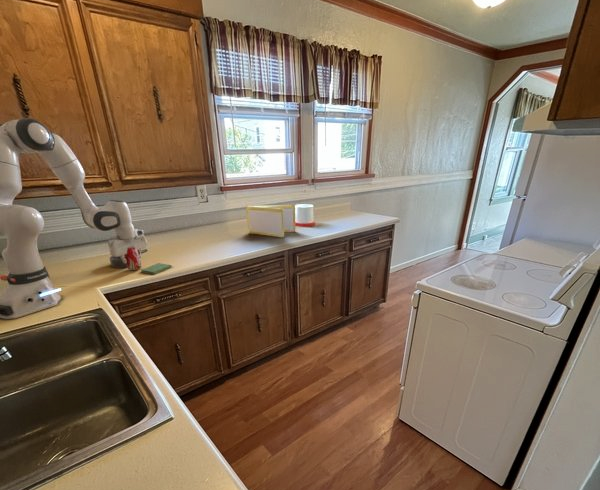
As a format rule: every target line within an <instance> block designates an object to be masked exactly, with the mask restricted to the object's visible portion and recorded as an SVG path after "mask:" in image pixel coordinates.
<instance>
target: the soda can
mask: <svg viewBox="0 0 600 490" xmlns="http://www.w3.org/2000/svg"><path fill="white" fill-rule="evenodd" d="M124 256H125V257H124V258H125V259H127V260H128V263H126V265H127V267H126V268H127V270H130V271H138V270H141V268H142V260H141V258H140V257H139V254H138V251H137V248H136V247H135V245H134V246H133V247H130V248H128V250H127V254H125V255H124Z"/></svg>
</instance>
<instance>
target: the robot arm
mask: <svg viewBox="0 0 600 490" xmlns="http://www.w3.org/2000/svg"><path fill="white" fill-rule="evenodd" d="M34 153H37V154H38V155H39V156H41V157H42V158H43V160H44V161H45V162H46V165H48V168H50V170H51V171H52V172H53V174H54V175H55V177H57V179H58V181H60V182H61V183H62V185H63V186H64V187H65V188H66V189H67V191H68V192H69V194H70V195H71V197H72V199H73V200H74V202H75V204H77V206H78V208H79V210H80V214H81V217H82V220H83V223H84V224H85V225H86V226H88V227H89V228H91V229H95V230H99V231H102V232H107V231H111V230H114V233H115V236H113V237H109V239H108V241H107V244H108V248H109V254H110V256H113V257H118V256H119V257H120V258H121V259H122V260H123V263H128V260H127V259H125V258H124V257H125V256H124V255H125V254H127V250H128V248H130V247H133V246H134V245H135V247H136V248H137V251H138V254H139V257H140V259H141V258H142V254H141V250H144V249H147V248H148V242H147V238H146V235H144V234H145V231H144V230H143V229H137V228H135V227H134V224H133V222H132V215H131V211H130V208H129V205H128V204H127V202H125V201H123V200H119V199H109V200H107V202H106V203H105V204H104V205H103V206H101V207H98V206H96V204H95V203H94V202H93V200H92V199H91V197H90V196H89V194H88V192H87V190H86V188H85V186H84V181H85V179H86V172H85V170H84V168H83V166H82V164H81V162H80V161H79V159H78V158H77V156H76V155H75V153H74V152H73V150H72V149H71V148H70V146H69V145H68V144H67V142H66V141H65V140H64V139H63V138H62V137H61V136H60V135H58V134H57V133H52V131H50V130H49V129H48V127H47V126H46V125H44V124H43V123H42V122H40V121H39V120H37V119H35V118H30V117H22V118H20V119H11V120H9V121H6V122H4V123H0V236H5V238H6V247H5V248H4V249H3V250H2V252H1V257H2V259H3V261H4V263H5V265H6V268H7V270H8V274H7V275H4V274H1V275H0V280H1V281H4V282H6V281H7V283H8V284H7V285H6V286H5V287H4V288H3V290H2V291H1V292H0V319H3V320H13V319H17V318H20V317H25V316H28V315H30V314H34V313H37V312H40V311H43V310H46V309H49V308H52V307H55V306H57V305H58V303H59V301H61V299H62V296H61V295H60V293H58V292H60V291H62V288H57V289H56V287H54V285H53V283H52V281H51V278H50V275H49V272H48V270H47V268H46V266H44V263H43V261H42V258H41V255H40V251H39V248H38V237H39V236H40V233H41V232H42V231H43V229H44V228H45V220H44V217H43V215H42V214H41V212H40V211H39V210H38V209H37V208H34V207H32V206H27V205H22V204H14V203H13V202H14V200H15V197H17V196H18V195H19V194H20V193H21V192H22V190H23V184H22V175H21V165H20V155H25V154H34Z"/></svg>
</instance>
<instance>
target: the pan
mask: <svg viewBox="0 0 600 490" xmlns="http://www.w3.org/2000/svg"><path fill="white" fill-rule="evenodd" d="M108 260H109V262H110V266H111V267H112V268H115V269H124V268H127V265H126V263H123V260H122V259H121V258H120V257H119V256H118V257H113V256H112V255H110V256H109V259H108Z"/></svg>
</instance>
